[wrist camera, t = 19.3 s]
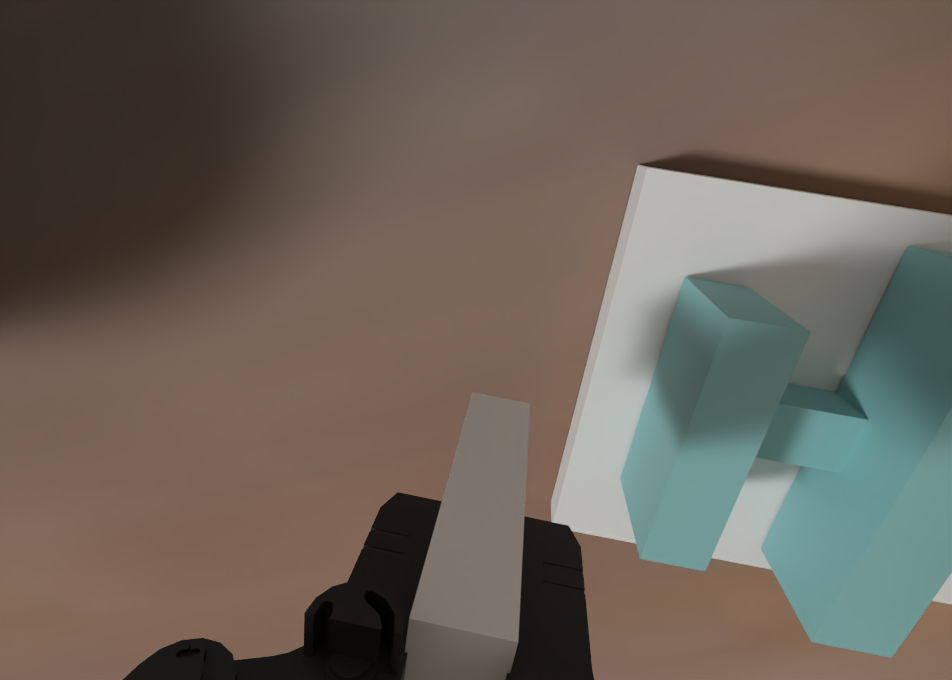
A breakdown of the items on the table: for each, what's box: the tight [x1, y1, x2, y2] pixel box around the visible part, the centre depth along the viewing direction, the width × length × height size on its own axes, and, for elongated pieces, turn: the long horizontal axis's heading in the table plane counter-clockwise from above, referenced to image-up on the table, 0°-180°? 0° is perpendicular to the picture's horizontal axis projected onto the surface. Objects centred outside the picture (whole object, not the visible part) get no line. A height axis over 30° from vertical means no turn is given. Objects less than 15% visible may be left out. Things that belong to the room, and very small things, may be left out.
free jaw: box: [620, 246, 952, 658], centre depth 15 cm, size 8×12×4 cm
